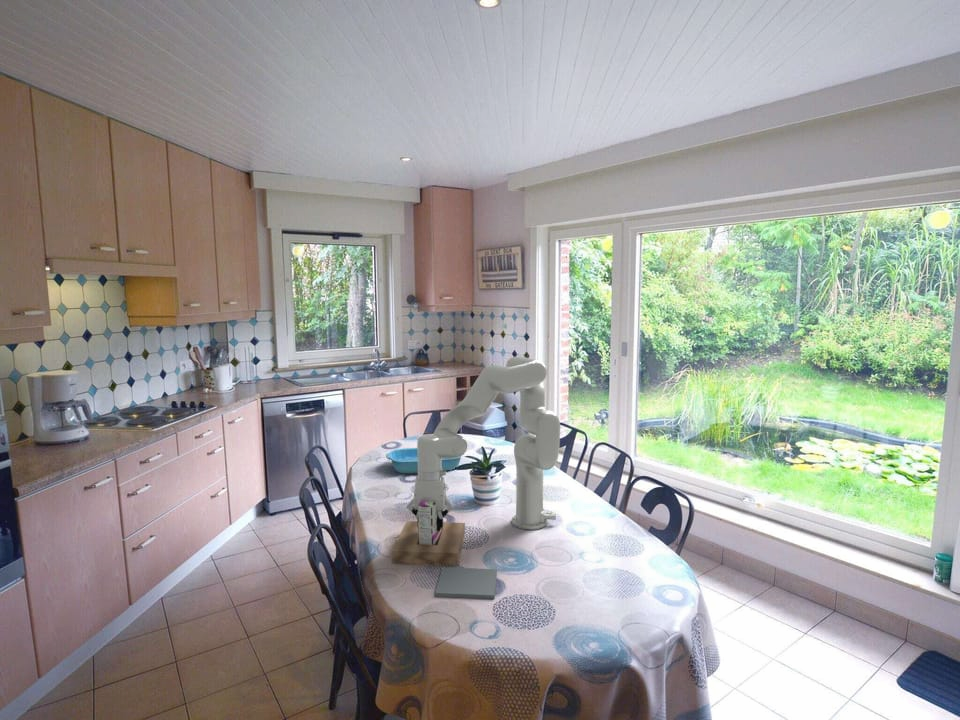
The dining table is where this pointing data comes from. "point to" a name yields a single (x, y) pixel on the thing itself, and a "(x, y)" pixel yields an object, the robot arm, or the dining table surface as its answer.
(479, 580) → the charcoal mat
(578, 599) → the dining table surface
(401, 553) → the pocket holder
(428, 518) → the candy bar box
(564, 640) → the dining table surface
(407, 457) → the casserole dish
